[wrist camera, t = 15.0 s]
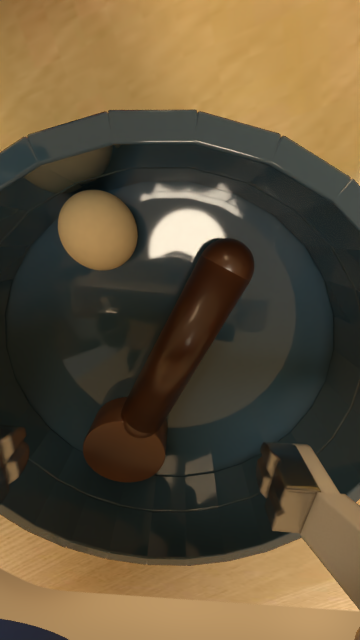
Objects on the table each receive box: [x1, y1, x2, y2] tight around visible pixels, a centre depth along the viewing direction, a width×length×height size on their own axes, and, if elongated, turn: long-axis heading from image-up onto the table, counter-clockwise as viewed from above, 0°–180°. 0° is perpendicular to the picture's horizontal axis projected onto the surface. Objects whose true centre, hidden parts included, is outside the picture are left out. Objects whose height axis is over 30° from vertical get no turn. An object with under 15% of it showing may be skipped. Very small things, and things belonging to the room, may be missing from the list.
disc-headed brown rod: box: [83, 238, 255, 482], centre depth 12 cm, size 15×5×2 cm, turn 153°
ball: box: [58, 190, 138, 270], centre depth 9 cm, size 3×3×3 cm
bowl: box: [0, 110, 360, 566], centre depth 11 cm, size 19×19×5 cm
